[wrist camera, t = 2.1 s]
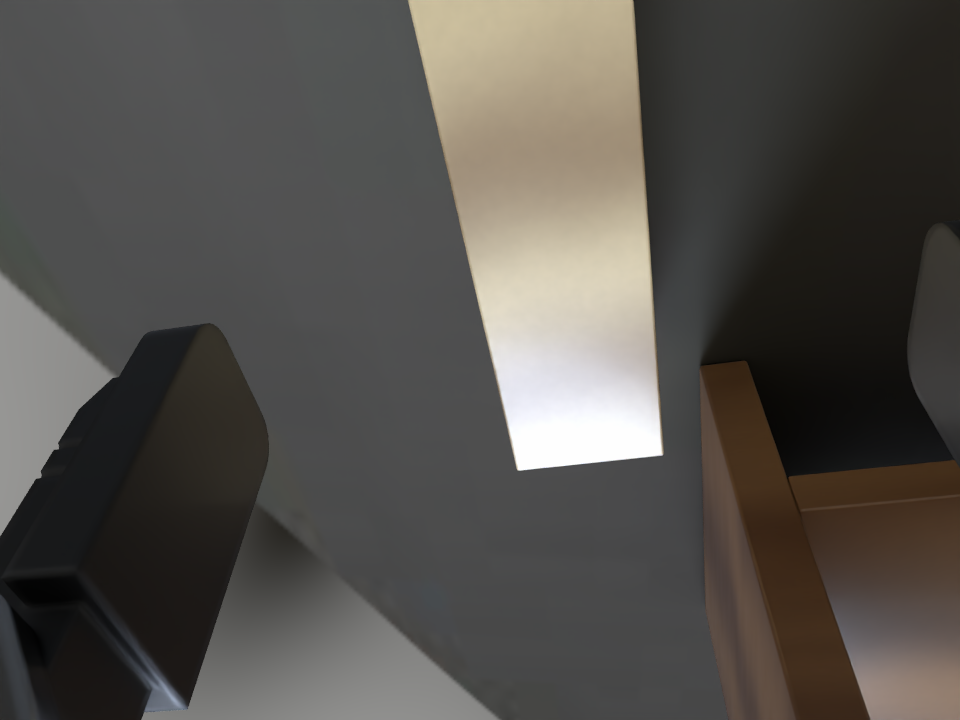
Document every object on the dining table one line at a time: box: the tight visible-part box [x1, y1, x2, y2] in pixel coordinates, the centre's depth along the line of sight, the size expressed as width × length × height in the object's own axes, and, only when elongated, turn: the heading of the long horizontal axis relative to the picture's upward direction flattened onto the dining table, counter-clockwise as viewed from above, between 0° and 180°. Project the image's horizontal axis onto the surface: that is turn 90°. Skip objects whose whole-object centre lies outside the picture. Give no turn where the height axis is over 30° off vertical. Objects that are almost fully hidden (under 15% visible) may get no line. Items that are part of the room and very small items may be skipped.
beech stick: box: [408, 0, 664, 470], centre depth 15 cm, size 15×3×4 cm, turn 11°
